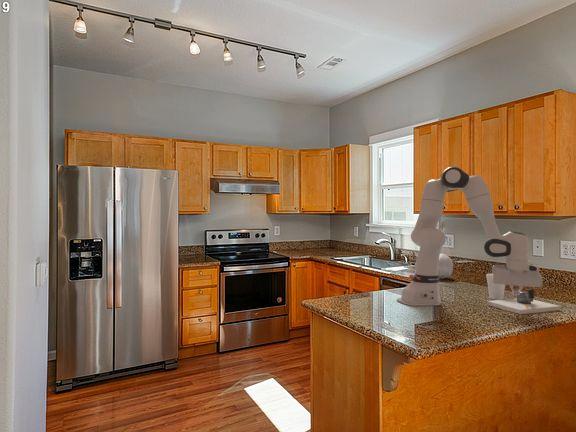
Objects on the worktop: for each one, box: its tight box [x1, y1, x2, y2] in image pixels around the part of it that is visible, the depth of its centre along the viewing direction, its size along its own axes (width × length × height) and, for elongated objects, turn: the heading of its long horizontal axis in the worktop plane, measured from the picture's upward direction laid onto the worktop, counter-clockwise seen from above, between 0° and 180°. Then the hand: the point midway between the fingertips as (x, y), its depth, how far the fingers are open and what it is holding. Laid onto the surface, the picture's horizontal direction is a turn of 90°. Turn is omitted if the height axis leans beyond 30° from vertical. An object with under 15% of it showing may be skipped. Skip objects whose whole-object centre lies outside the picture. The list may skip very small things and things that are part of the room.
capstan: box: [516, 288, 535, 304], centre depth 177 cm, size 16×6×9 cm, turn 160°
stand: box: [486, 298, 561, 315], centre depth 180 cm, size 26×18×2 cm
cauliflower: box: [414, 253, 454, 280], centre depth 265 cm, size 20×25×22 cm
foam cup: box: [486, 273, 506, 301], centre depth 198 cm, size 10×9×13 cm
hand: (516, 294), depth 173 cm, fingers closed
